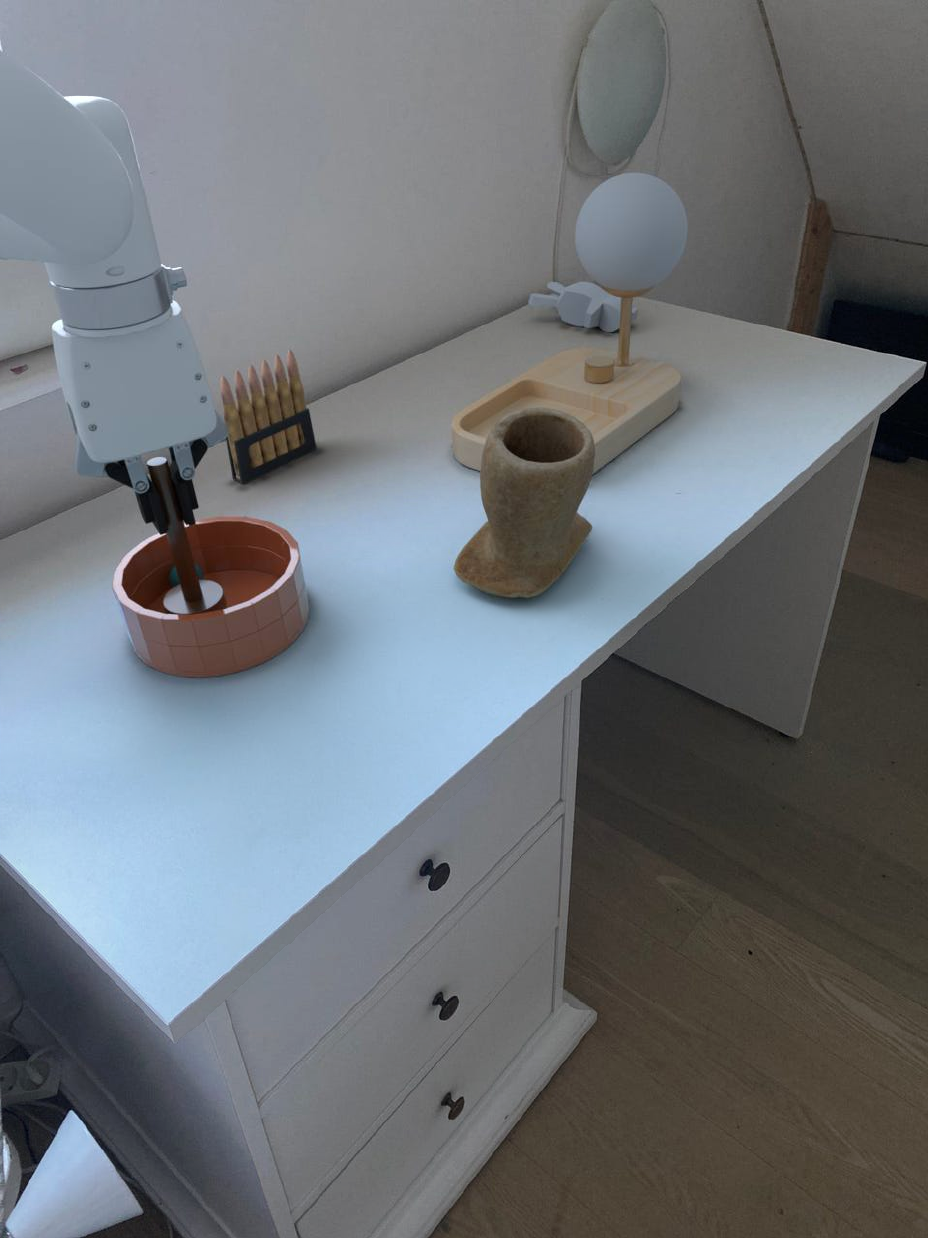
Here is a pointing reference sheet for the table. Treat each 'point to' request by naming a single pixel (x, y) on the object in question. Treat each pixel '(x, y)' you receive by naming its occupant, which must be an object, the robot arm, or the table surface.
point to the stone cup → (529, 503)
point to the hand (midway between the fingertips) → (172, 521)
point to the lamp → (615, 380)
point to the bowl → (254, 590)
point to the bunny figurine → (583, 305)
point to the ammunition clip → (266, 420)
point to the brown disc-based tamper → (182, 553)
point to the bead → (174, 577)
